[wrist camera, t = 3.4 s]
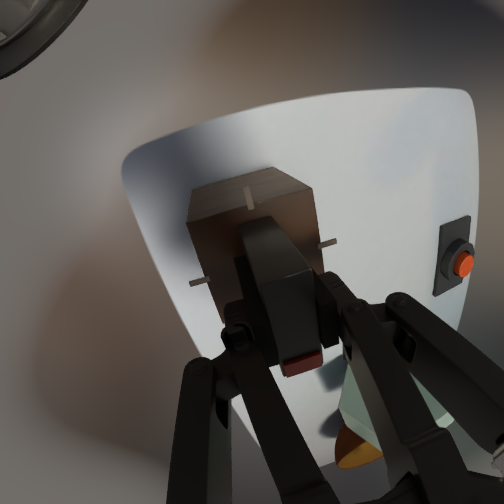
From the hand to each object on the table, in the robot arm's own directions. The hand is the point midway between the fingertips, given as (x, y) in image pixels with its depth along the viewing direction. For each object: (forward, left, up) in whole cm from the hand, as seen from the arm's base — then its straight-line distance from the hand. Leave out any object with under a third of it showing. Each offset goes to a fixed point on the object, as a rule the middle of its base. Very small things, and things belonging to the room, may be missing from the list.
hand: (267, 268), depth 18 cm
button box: (+14, +29, -11) cm, 34 cm away
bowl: (+47, +13, -11) cm, 50 cm away
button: (+14, +29, -9) cm, 34 cm away
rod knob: (0, 0, -1) cm, 1 cm away
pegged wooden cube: (0, 0, -11) cm, 11 cm away
